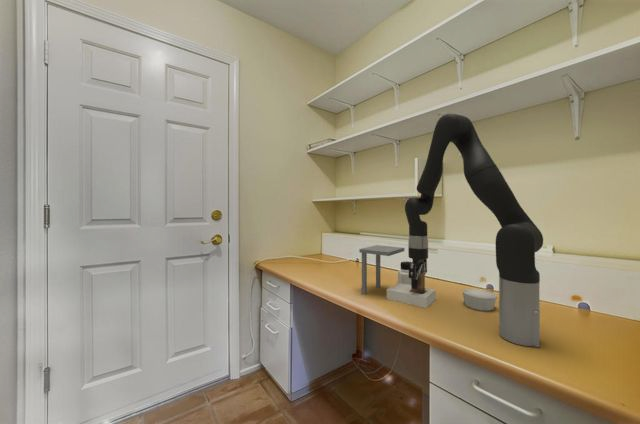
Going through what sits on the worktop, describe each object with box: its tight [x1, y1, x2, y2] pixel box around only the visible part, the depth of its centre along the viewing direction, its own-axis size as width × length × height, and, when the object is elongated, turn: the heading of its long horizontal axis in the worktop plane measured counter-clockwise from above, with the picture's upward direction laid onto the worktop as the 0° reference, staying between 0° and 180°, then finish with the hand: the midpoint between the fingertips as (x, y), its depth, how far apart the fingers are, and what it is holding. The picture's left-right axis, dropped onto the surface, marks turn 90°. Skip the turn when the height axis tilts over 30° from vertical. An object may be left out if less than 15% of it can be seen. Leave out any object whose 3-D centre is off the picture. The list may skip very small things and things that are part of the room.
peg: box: [411, 271, 426, 294], centre depth 104 cm, size 4×4×12 cm
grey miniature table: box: [358, 244, 405, 296], centre depth 115 cm, size 14×16×20 cm
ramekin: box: [461, 288, 498, 312], centre depth 98 cm, size 11×11×5 cm
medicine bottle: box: [397, 260, 412, 285], centre depth 124 cm, size 7×7×12 cm
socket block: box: [386, 282, 437, 309], centre depth 106 cm, size 16×12×4 cm
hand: (418, 286), depth 104 cm, fingers open, 8 cm apart
